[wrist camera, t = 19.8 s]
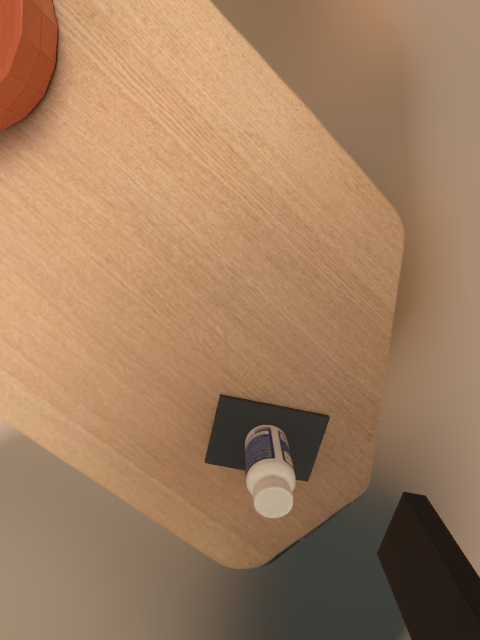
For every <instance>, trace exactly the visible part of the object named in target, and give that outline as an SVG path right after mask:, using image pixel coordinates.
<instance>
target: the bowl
mask: <svg viewBox="0 0 480 640" xmlns="http://www.w3.org/2000/svg"><path fill="white" fill-rule="evenodd" d="M56 47H57V23H56V18H55V13H54V9H53V4H52V0H0V131H1V130H3V129H5V128H7V127H9V126H11V125H13V124H15V123H16V122H18V121H20V120H22V119H24V118H25V117H26V116H27V115H28V114H29V113H30V111H31V110H32V109H33V108H34V107H35V105H36V104H37V103H38V102H39V101H40V100H41V98H42V97H43V96H44V95H45V92H46V89H47V87H48V84H49V81H50V78H51V76H52V73H53V70H54V68H55V64H56Z"/></svg>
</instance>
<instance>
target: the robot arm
mask: <svg viewBox="0 0 480 640" xmlns="http://www.w3.org/2000/svg"><path fill="white" fill-rule="evenodd" d="M377 555H378V557H379V560H380V562H381V565H382V567H383V569H384V572H385V575H386V577H387V579H388V582H389V584H390V587H391V589H392V592H393V595H394V597H395V600H396V602H397V604H398V607H399V609H400V612H401V614H402V617H403V619H404V622H405V624H406V627H407V629H408V632H409V634H410V637H411V639H412V640H480V578H479V576H478V575H477V573H476V572H475V570H474V568H473V567H472V565H471V564H470V562H469V561H468V559H467V558H466V556H465V555H464V553H463V552H462V550H461V549H460V547H459V546H458V544H457V543H456V541H455V540H454V538H453V537H452V535H451V534H450V532H449V530H448V529H447V528H446V526H445V524H444V523H443V521H442V520H441V518H440V517H439V515H438V514H437V512H436V511H435V509H434V508H433V506H432V505H431V503H430V502H429V500H428V499H427V497H426V496H424V495H418V494H413V493H407V492H403V494H402V497H401V499H400V501H399V504H398V506H397V508H396V510H395V513H394V515H393V517H392V520H391V522H390V524H389V527H388V529H387V531H386V534H385V536H384V538H383V541H382V543H381V545H380V548H379V550H378V553H377Z"/></svg>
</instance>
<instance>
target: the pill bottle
mask: <svg viewBox="0 0 480 640" xmlns="http://www.w3.org/2000/svg"><path fill="white" fill-rule="evenodd" d="M245 460H246V484H247V488H248V491H249V493H250V494H251V495H252V496H253V500H254V507H255V509H256V511H257V512H258V513H259V514H260V515H262V516H264V517H267V518H278V517H282V516H284V515H286V514H287V513H288V512H289V511H290V510H291V508H292V506H293V495H292V492H293V490H294V488H295V484H296V479H295V473H294V468H293V464H292V460H291V455H290V451H289V446H288V442H287V438H286V436H285V434H284V433H283V431H282V430H280V429H279V428H277V427H275V426H272V425H261V426H258V427H256V428H254V429H252V430H251V431H250V432H249V434H248V435H247V437H246V440H245Z"/></svg>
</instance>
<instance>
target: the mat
mask: <svg viewBox="0 0 480 640" xmlns="http://www.w3.org/2000/svg"><path fill="white" fill-rule="evenodd" d="M328 421H329V416H328V415H322V414H317V413H312V412H307V411H302V410H297V409H292V408H287V407H282V406H277V405H271V404H266V403H261V402H256V401H251V400H246V399H241V398H236V397H231V396H226V395H220V399H219V403H218V407H217V412H216V416H215V420H214V425H213V429H212V433H211V438H210V442H209V446H208V451H207V455H206V459H205V463H208V464H213V465H219V466H224V467H230V468H235V469H241V470H246V460H245V440H246V437H247V435H248V434H249V432H250V431H251V430H252V429H254V428H256V427H258V426H261V425H272V426H275V427H277V428H279V429H280V430H282V431H283V433H284V434H285V436H286V438H287V442H288V446H289V451H290V455H291V460H292V464H293V468H294V473H295V479H296V480H301V481H307V482H308V479H309V476H310V474H311V471H312V468H313V465H314V462H315V459H316V456H317V453H318V450H319V447H320V444H321V442H322V439H323V436H324V433H325V430H326V427H327V424H328Z"/></svg>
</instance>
